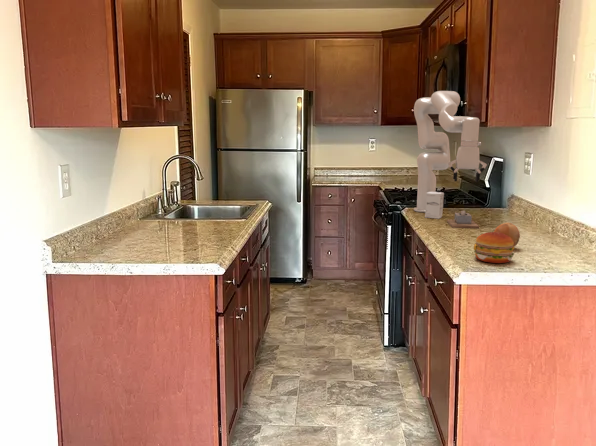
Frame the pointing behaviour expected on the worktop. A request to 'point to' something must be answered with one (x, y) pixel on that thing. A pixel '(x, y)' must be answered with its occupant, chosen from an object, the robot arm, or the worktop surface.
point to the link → (463, 218)
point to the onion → (509, 231)
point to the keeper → (454, 225)
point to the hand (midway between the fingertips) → (466, 181)
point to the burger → (494, 247)
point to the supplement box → (434, 205)
